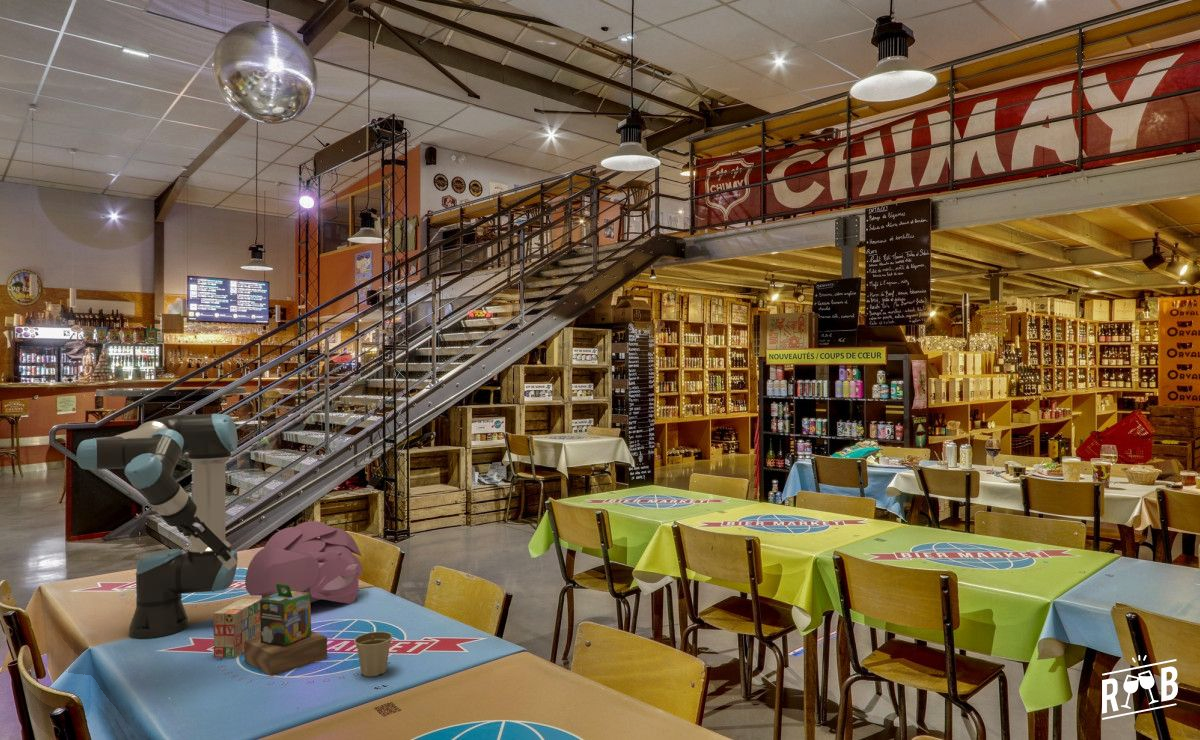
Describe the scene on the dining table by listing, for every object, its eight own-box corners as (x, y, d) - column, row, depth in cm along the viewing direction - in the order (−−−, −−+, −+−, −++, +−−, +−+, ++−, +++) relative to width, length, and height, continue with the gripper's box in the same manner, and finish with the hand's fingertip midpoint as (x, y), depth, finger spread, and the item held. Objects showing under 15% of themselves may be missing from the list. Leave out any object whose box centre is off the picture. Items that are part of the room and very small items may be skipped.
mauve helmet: (342, 602, 257) (340, 521, 263) (381, 600, 242) (378, 514, 249) (242, 617, 229) (243, 527, 235) (280, 616, 215) (279, 520, 221)
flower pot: (357, 682, 174) (357, 647, 174) (351, 669, 183) (351, 635, 183) (396, 675, 179) (396, 640, 179) (388, 662, 187) (388, 629, 187)
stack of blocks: (259, 630, 213) (259, 589, 213) (279, 631, 212) (279, 589, 212) (213, 658, 192) (213, 612, 192) (235, 658, 191) (235, 612, 191)
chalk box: (312, 635, 192) (312, 580, 192) (284, 647, 183) (284, 589, 184) (287, 631, 195) (287, 577, 196) (258, 642, 187) (259, 585, 187)
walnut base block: (244, 663, 188) (244, 640, 189) (299, 646, 200) (299, 625, 200) (271, 677, 179) (271, 653, 179) (327, 659, 190) (327, 637, 191)
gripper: (136, 502, 183) (182, 553, 195) (187, 531, 170) (233, 584, 182) (162, 481, 187) (205, 532, 200) (214, 509, 174) (256, 562, 187)
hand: (218, 557), depth 191 cm, fingers open, 13 cm apart
